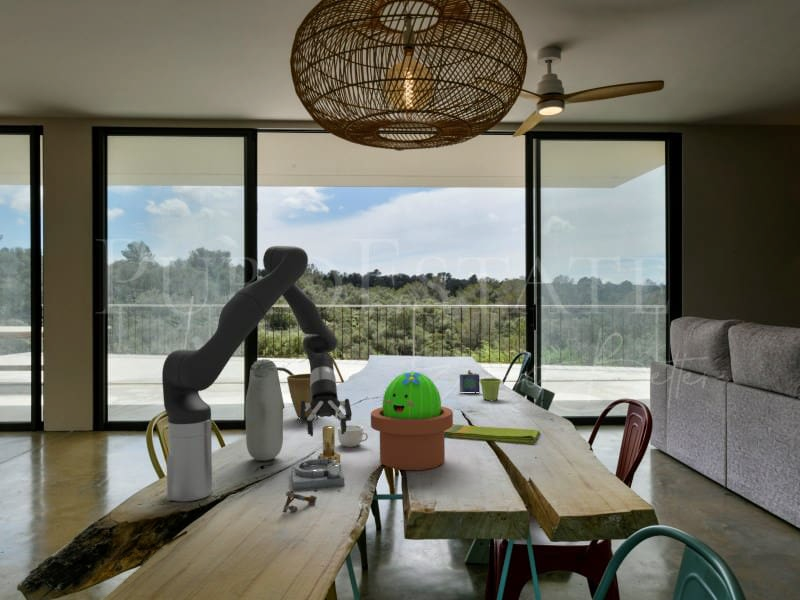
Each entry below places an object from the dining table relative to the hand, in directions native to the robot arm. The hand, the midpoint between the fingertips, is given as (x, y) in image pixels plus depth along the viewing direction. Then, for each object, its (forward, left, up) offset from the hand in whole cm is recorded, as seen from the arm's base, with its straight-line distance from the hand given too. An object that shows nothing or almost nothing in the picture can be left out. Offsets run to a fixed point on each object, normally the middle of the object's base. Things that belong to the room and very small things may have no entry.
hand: (327, 433), depth 149 cm
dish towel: (+51, +17, -8) cm, 55 cm away
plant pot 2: (+77, +72, -8) cm, 106 cm away
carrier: (-4, -15, -8) cm, 17 cm away
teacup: (+9, +14, -8) cm, 19 cm away
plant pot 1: (-2, +57, -8) cm, 58 cm away
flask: (+74, +90, -8) cm, 117 cm away
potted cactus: (+22, -6, -8) cm, 24 cm away
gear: (0, -3, -8) cm, 8 cm away
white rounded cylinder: (-17, +6, -8) cm, 20 cm away
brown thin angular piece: (-9, -32, -8) cm, 34 cm away
